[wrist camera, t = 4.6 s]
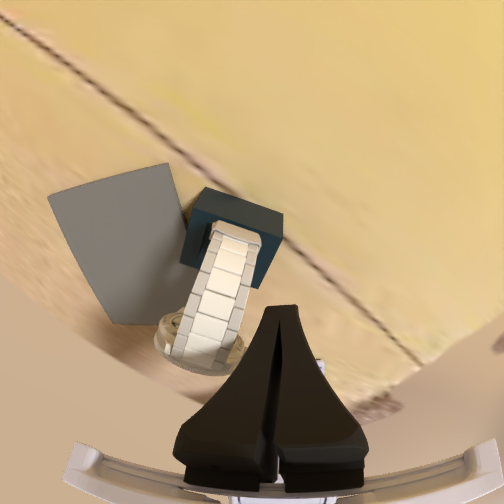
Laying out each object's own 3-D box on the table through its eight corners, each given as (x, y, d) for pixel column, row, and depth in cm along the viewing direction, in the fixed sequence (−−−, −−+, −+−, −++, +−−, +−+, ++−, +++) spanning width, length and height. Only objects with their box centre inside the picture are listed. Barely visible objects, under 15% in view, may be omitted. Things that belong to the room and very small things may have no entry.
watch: (186, 257, 23) (135, 377, 14) (212, 163, 18) (143, 269, 9) (253, 280, 23) (235, 408, 14) (294, 192, 19) (301, 321, 10)
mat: (219, 321, 27) (218, 324, 26) (114, 321, 29) (113, 323, 28) (168, 162, 18) (166, 164, 18) (49, 195, 21) (47, 197, 20)
